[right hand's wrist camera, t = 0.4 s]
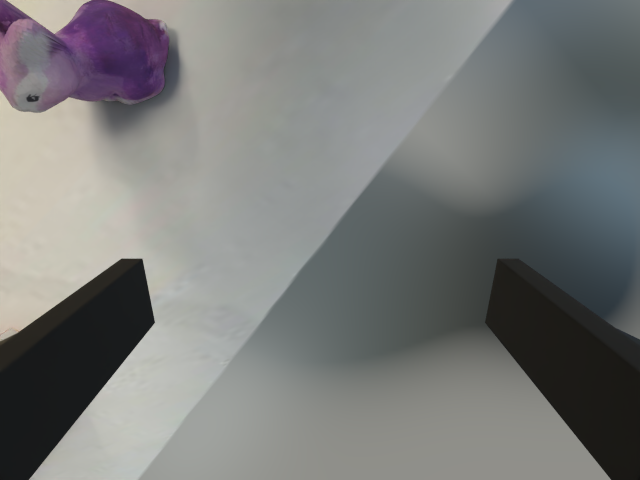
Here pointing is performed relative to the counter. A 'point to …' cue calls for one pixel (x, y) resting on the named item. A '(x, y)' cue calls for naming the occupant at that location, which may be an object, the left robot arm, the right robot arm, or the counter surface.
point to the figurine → (81, 57)
